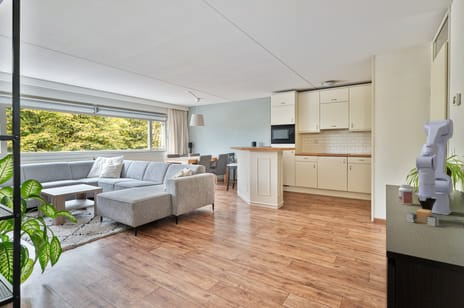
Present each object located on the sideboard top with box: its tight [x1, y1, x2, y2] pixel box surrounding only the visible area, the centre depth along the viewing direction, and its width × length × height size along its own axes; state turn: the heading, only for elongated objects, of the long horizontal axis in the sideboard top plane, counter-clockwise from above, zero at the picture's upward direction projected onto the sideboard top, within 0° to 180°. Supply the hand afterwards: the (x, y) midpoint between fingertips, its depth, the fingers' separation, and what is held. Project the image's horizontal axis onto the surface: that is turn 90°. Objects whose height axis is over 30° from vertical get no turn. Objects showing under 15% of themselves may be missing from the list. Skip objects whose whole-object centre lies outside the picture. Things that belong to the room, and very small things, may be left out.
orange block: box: [415, 208, 433, 224], centre depth 101 cm, size 6×4×4 cm
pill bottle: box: [398, 183, 413, 206], centre depth 133 cm, size 6×6×11 cm
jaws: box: [404, 211, 440, 227], centre depth 99 cm, size 4×11×3 cm, turn 38°
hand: (427, 215), depth 104 cm, fingers closed
